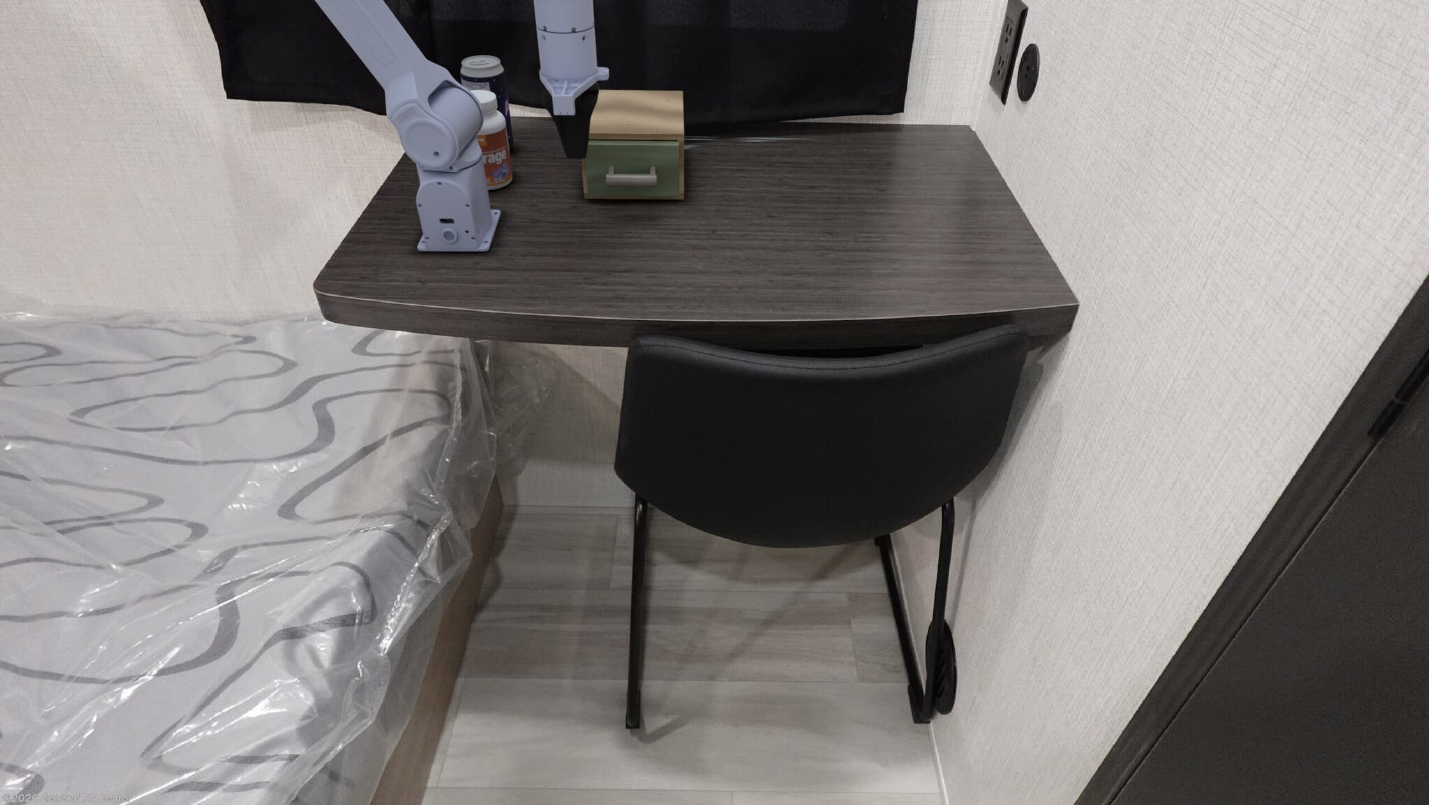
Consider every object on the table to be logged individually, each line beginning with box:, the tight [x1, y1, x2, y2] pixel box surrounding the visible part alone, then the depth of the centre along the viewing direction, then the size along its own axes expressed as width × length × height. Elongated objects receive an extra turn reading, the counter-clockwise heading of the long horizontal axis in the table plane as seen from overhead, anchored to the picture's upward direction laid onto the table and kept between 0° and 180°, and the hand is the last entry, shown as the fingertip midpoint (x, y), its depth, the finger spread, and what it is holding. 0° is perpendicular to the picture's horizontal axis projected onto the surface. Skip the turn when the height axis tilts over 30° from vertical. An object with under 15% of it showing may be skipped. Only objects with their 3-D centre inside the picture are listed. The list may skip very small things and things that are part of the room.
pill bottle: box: [471, 90, 513, 191], centre depth 105 cm, size 6×6×11 cm
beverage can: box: [459, 54, 515, 150], centre depth 113 cm, size 6×6×12 cm
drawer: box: [585, 139, 679, 197], centre depth 106 cm, size 18×11×7 cm, turn 2°
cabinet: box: [580, 89, 685, 200], centre depth 109 cm, size 15×13×9 cm
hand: (576, 155), depth 92 cm, fingers closed
